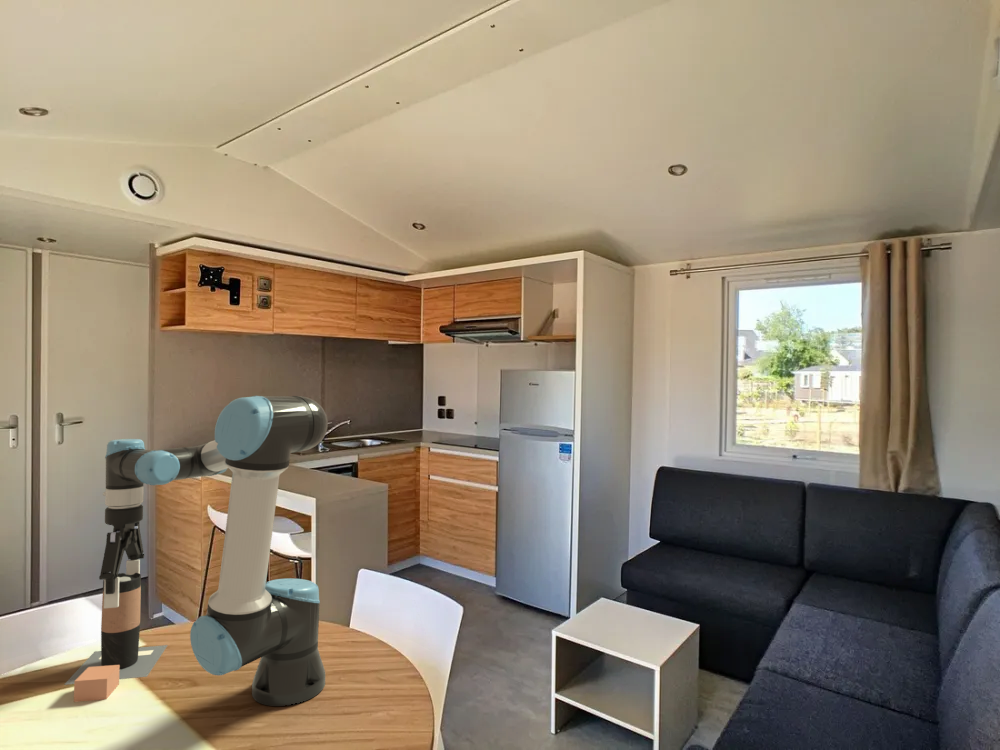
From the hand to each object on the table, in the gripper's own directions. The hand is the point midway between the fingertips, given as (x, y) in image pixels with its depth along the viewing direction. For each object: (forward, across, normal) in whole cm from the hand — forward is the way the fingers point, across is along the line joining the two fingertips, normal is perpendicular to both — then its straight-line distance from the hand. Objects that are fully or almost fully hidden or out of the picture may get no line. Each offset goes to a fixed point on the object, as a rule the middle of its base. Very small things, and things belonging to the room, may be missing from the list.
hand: (122, 596), depth 136 cm
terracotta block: (+16, +13, 0) cm, 21 cm away
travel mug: (+16, 0, 0) cm, 16 cm away
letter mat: (+16, 0, 0) cm, 16 cm away
